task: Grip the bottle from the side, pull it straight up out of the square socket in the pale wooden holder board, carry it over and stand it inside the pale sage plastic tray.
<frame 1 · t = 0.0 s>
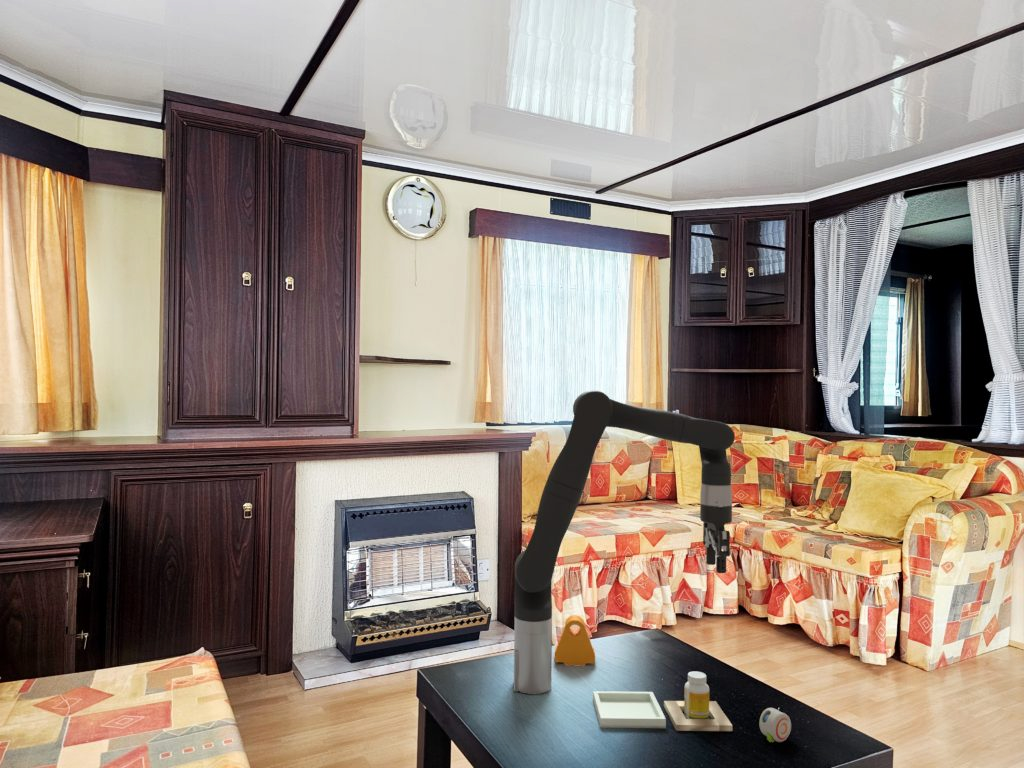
hand: (715, 568, 171), 29 cm above the table, tool pointing down, fingers open, 8 cm apart
roller toy: (775, 739, 145), on the table
holder board: (696, 718, 154), on the table
bracket: (574, 661, 188), on the table
tray: (627, 713, 156), on the table
supplement bottle: (696, 719, 154), resting in holder board
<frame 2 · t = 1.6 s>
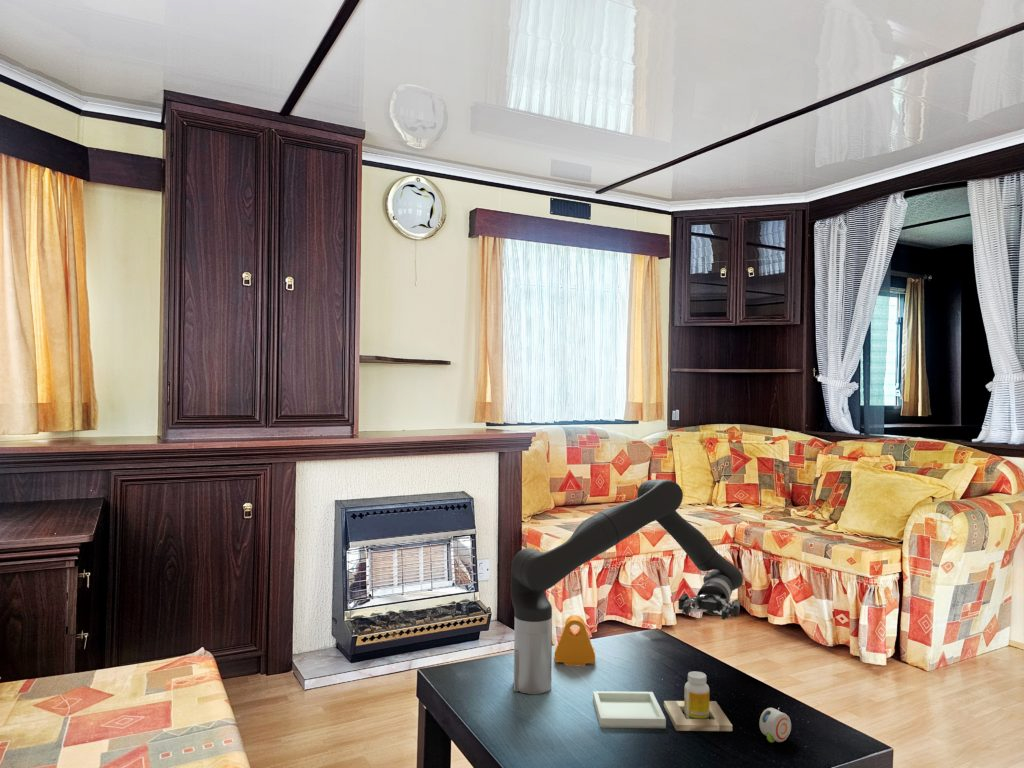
hand: (704, 613, 164), 20 cm above the table, tool horizontal, fingers open, 8 cm apart
nothing on the table moved.
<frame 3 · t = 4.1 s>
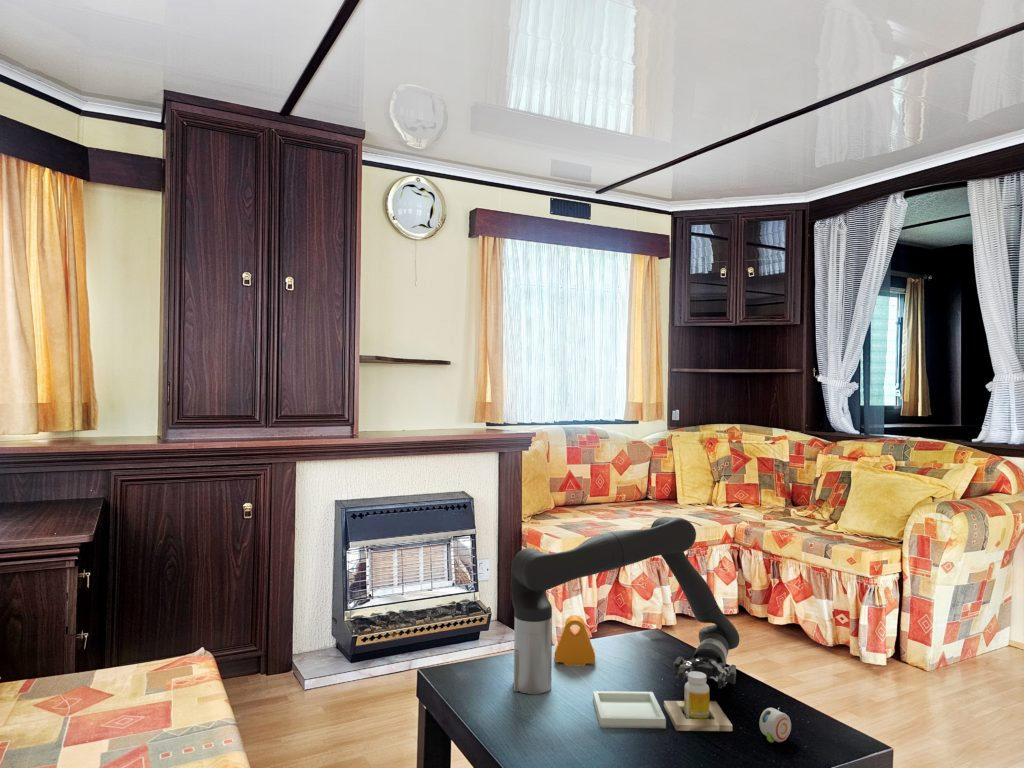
hand: (700, 680, 159), 6 cm above the table, tool horizontal, fingers open, 8 cm apart
nothing on the table moved.
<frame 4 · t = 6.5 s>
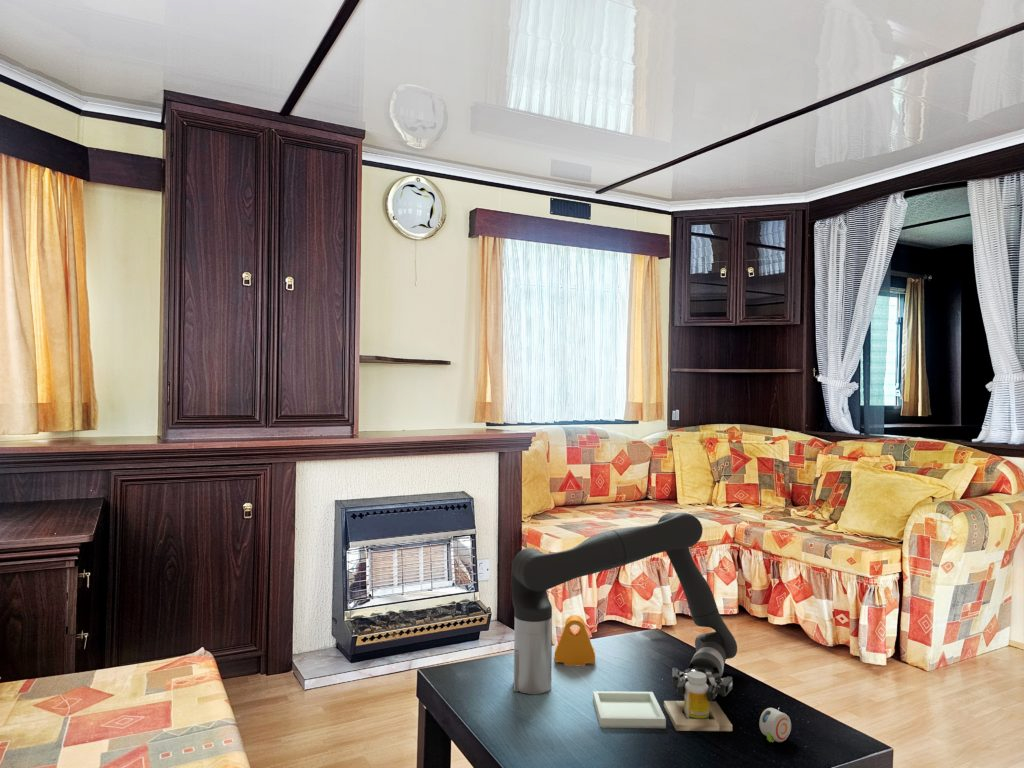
hand: (695, 694, 152), 6 cm above the table, tool horizontal, fingers closed on supplement bottle, 5 cm apart
supplement bottle: (696, 719, 154), resting in holder board, touching gripper
everything else where it was.
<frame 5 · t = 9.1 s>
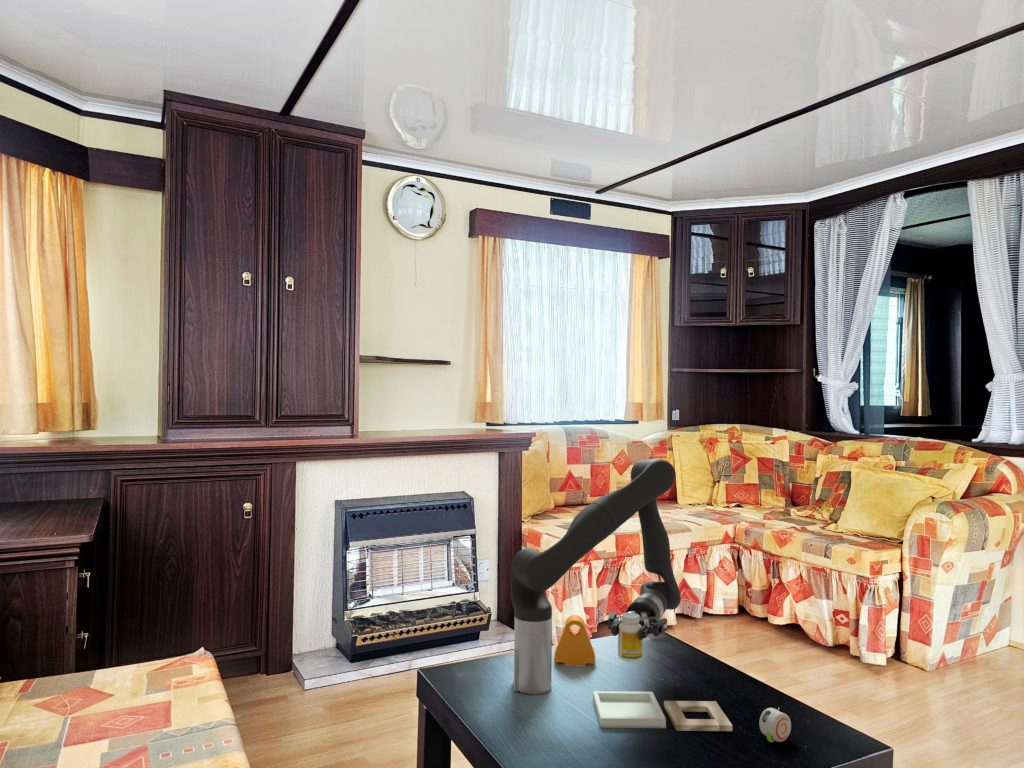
hand: (627, 633, 154), 19 cm above the table, tool horizontal, fingers closed on supplement bottle, 5 cm apart
supplement bottle: (630, 658, 156), point 12 cm above the table, touching gripper
everything else where it was.
when the fingers open (8 cm above the table, at t = 12.1 s): supplement bottle drops 1 cm, resting on tray.
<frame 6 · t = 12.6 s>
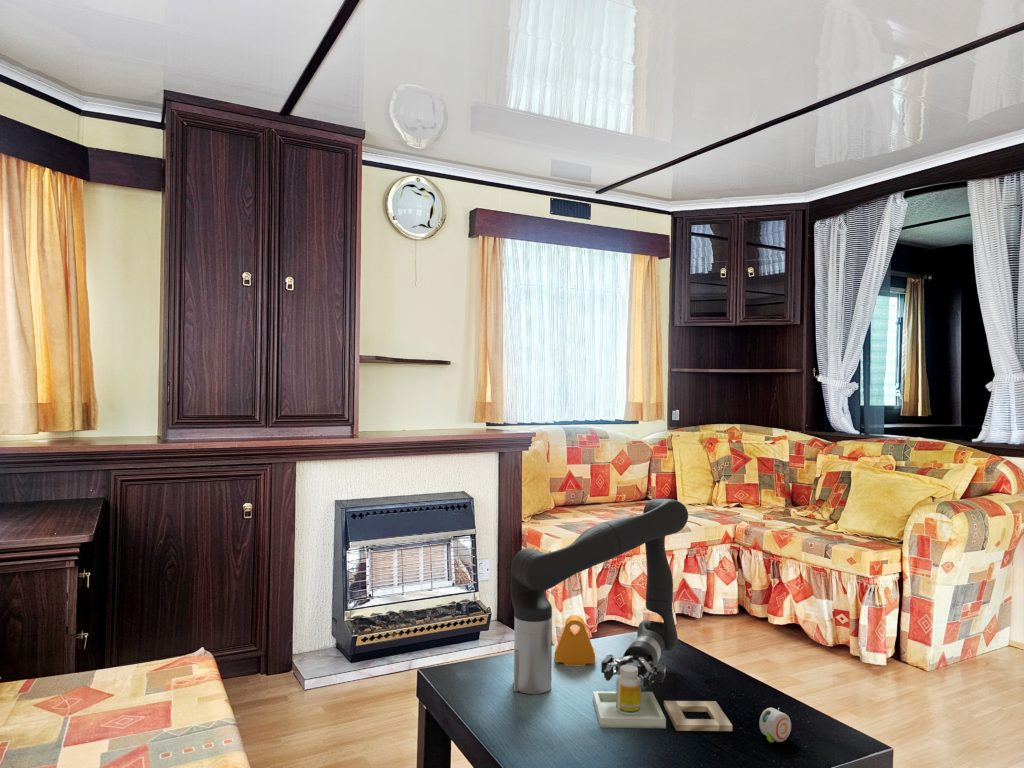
hand: (625, 679, 154), 8 cm above the table, tool horizontal, fingers open, 8 cm apart
supplement bottle: (628, 711, 156), resting on tray
everything else where it was.
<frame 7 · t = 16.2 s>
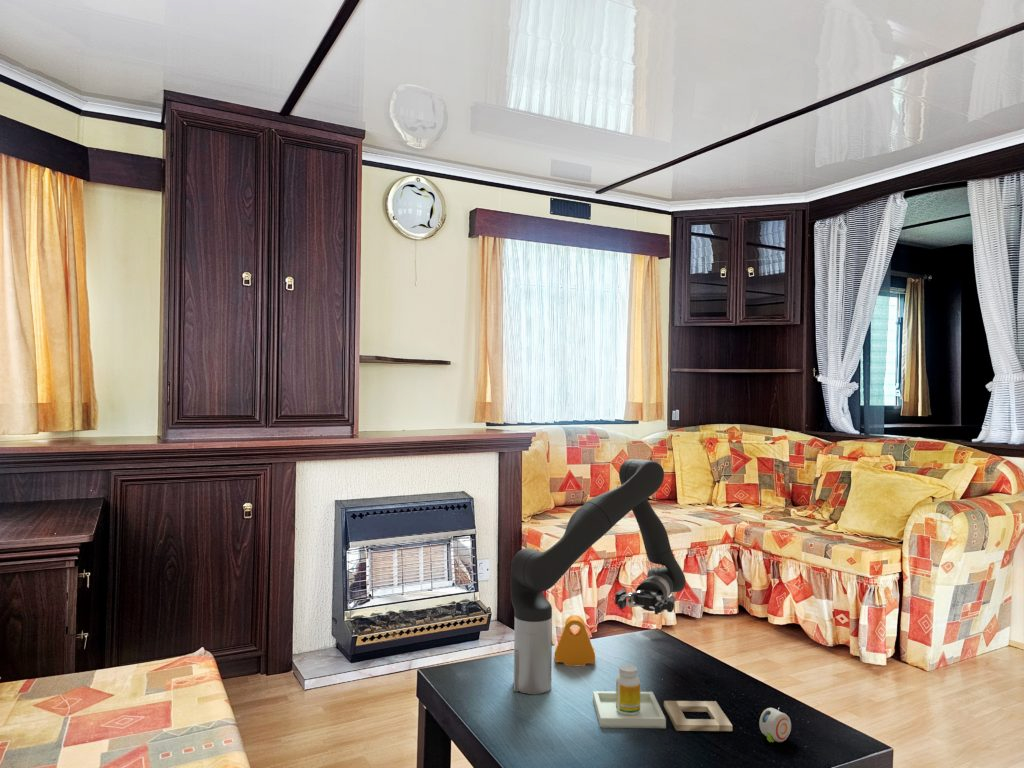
hand: (638, 607, 166), 21 cm above the table, tool horizontal, fingers open, 8 cm apart
nothing on the table moved.
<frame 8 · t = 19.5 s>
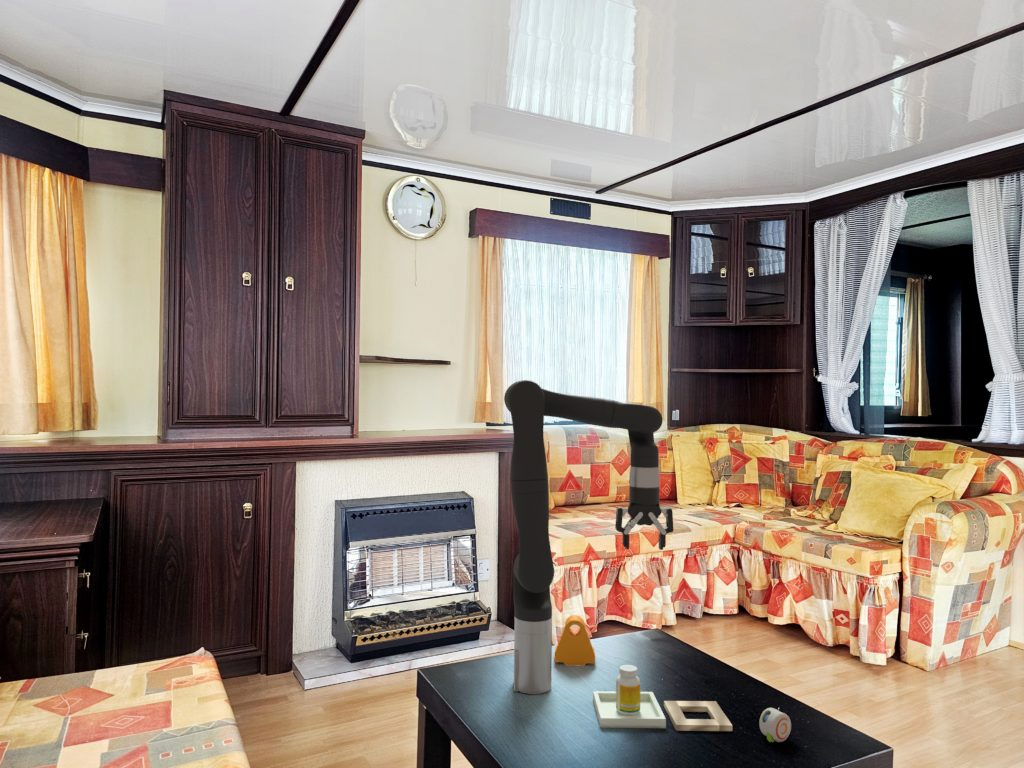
hand: (644, 549, 175), 33 cm above the table, tool pointing down, fingers open, 8 cm apart
nothing on the table moved.
at the end: supplement bottle inside the target area on the tray (0.2 cm from its centre), point 0.3 cm above the tray's base; supplement bottle tilted 0°; the gripper is holding nothing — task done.
